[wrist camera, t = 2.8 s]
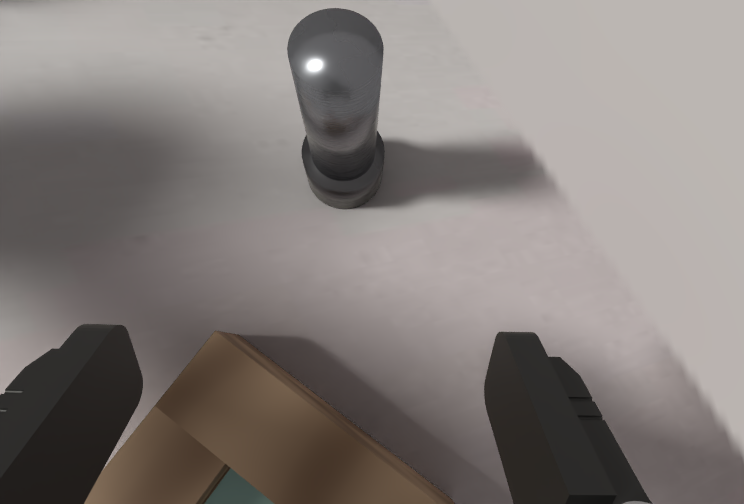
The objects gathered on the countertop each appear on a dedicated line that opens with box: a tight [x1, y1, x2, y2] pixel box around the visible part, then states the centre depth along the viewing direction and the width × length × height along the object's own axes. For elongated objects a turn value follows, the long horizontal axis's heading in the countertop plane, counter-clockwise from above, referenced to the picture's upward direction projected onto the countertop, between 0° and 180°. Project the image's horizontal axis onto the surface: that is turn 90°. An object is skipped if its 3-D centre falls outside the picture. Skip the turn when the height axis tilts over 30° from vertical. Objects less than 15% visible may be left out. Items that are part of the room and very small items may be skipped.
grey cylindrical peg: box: [287, 8, 384, 209], centre depth 21 cm, size 4×4×11 cm
